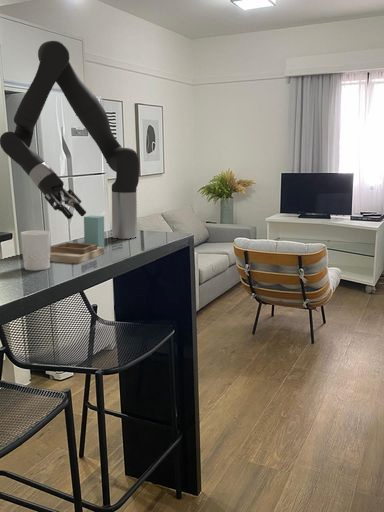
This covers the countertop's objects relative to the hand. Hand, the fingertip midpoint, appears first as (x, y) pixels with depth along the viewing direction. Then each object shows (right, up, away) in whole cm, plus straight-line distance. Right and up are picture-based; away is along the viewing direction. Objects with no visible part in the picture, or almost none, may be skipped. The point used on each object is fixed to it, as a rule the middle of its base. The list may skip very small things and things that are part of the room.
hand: (77, 216), depth 168 cm
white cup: (-5, -17, -27) cm, 32 cm away
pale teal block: (+5, -11, +1) cm, 12 cm away
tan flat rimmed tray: (+2, -13, -12) cm, 18 cm away
